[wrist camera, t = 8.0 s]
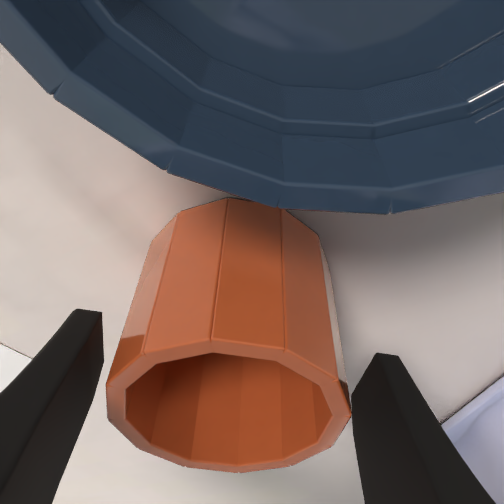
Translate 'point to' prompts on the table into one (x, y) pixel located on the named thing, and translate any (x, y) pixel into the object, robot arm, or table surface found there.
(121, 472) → the table surface
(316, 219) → the table surface
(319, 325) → the orange hollow tube
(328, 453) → the table surface
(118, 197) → the table surface
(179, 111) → the serving bowl
